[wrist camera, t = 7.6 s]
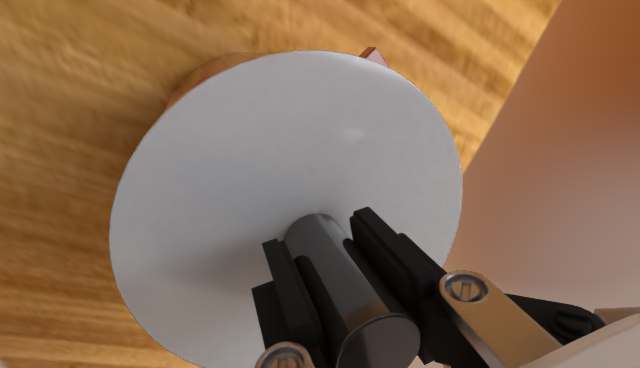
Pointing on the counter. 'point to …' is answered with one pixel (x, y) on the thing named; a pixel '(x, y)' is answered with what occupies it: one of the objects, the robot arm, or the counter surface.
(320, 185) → the pan lid
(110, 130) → the counter surface
